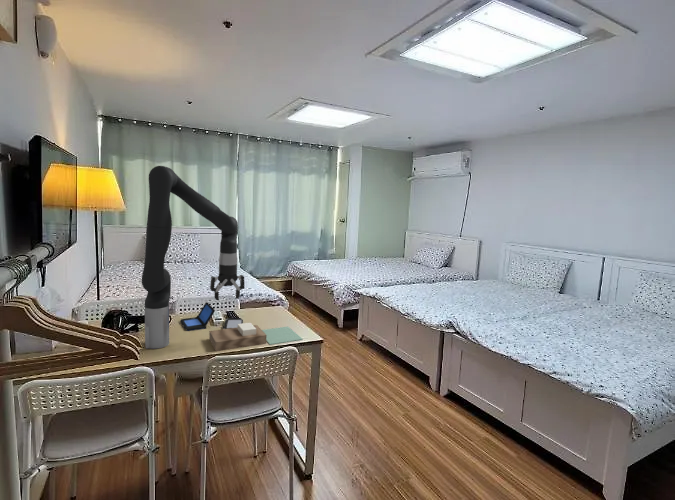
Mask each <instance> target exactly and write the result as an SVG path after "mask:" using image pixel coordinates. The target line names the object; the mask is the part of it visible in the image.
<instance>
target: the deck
mask: <svg viewBox="0 0 675 500" xmlns="http://www.w3.org/2000/svg"><path fill="white" fill-rule="evenodd" d="M252 325H253V324H252ZM253 326H254V327H255V328H256V334H255V335H248V336H242V334H241V333H240V332H239V331H238V327H237V328H229V329H223V328H222V329H214V330H213V329H212V330H209V334H208V335H209V336H208V339H209V341H210V344H211V345H212V347H213V348H214V350H215V352H220V351H227V350H234V349H240V348H247V347H252V346H259V345H266V344H267V341H266V338H267V335H266V334H265V333H264V332H263V331H262V330H263V329H261V327H260V326H258V325H257V324H254V325H253Z"/></svg>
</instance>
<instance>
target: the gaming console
mask: <svg viewBox="0 0 675 500" xmlns="http://www.w3.org/2000/svg"><path fill="white" fill-rule="evenodd" d="M234 318H236V319H234ZM242 323H244V319H242V318H241V317H229V318H226V319H225V320H224V323H223V328H222V329H229V328H237V327H238V324H242Z"/></svg>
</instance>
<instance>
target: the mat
mask: <svg viewBox="0 0 675 500" xmlns="http://www.w3.org/2000/svg"><path fill="white" fill-rule="evenodd" d="M261 330H262V331H263V332H264V333H265V334H266V335H267V338H266V343H268V345H269V346H270V345H278V344H284V343H289V342H297V341H303V340H304V339H303V338H302V337H301V336H300V335H299V334H298V333H296V332H295V331H294V330H293V329H292V328H291V327H289V326H282V327H281V326H280V327H275V328H267V329H261Z"/></svg>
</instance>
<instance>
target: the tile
mask: <svg viewBox="0 0 675 500" xmlns="http://www.w3.org/2000/svg"><path fill="white" fill-rule="evenodd" d="M238 331H239V332H240V333H241V334H242V336H248V335H255V334H256V328H255V327H254V326H253V323H252V322H243V323H242V324H238Z"/></svg>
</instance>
